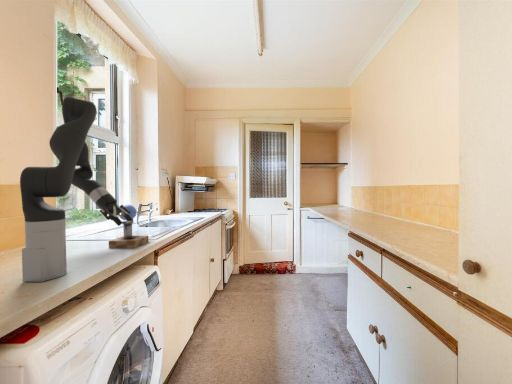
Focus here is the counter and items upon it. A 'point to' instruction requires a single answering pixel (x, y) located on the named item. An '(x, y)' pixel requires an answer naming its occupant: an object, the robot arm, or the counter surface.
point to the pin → (127, 229)
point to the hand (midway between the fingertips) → (126, 222)
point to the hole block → (128, 242)
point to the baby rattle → (131, 210)
